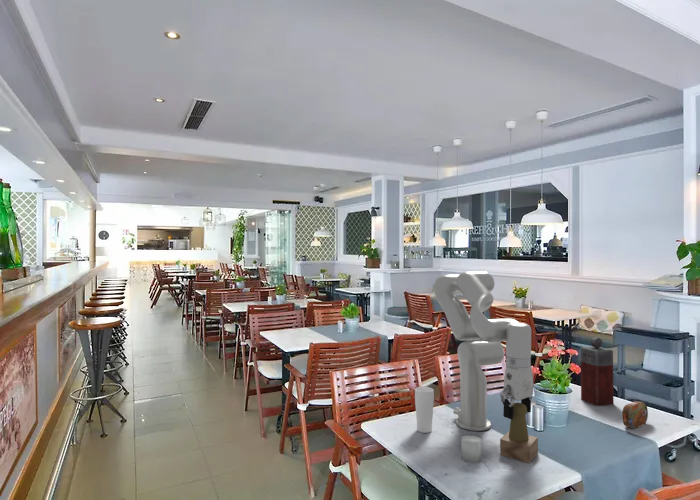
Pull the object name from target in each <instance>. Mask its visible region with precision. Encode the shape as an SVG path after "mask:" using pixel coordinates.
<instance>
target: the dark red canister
mask: <svg viewBox="0 0 700 500" xmlns="http://www.w3.org/2000/svg"><path fill="white" fill-rule="evenodd" d="M602 345H603V340H602V339H601V338H600V337H596V336H595V337H592V338H591V340H590V346H582V347H580V398H581V399H580V400H581V401H584V402H586V403H588V404H591V405H593V406H596V407H601V406H610V405H614V403H615V401H614V400H615V399H614V351H613V350H612V349H611V348H610V349H609V348H606V347H602Z"/></svg>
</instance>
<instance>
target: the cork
mask: <svg viewBox="0 0 700 500" xmlns="http://www.w3.org/2000/svg"><path fill="white" fill-rule="evenodd" d="M512 406H513V407H514V411H513V419H512V420H511V419H510V423H509V424H510V425H509V430H508V431H509V439H511V440H513V441H516V442H527V441H528V440H529V438H528V435H529V433H528V425H527V419H526V415H527V413H528V412H527V407H526V406H525V405H524V404H522V403H521V402H514V403H513V405H512Z"/></svg>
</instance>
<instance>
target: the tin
mask: <svg viewBox="0 0 700 500" xmlns="http://www.w3.org/2000/svg"><path fill="white" fill-rule="evenodd" d="M621 414H622V417H621V418H622V423H623V425H624V427H626V428H630V429H633V430H635V429H638V428H640V427H642V426H644V425H646V423H647V420H648V417H649V411H648V405H647V404H646V403H645V402H644V401H639V400H638V401H637V400H636V401H635V400H634V401H632V402H629V403H627V404H625V405H624V406H623V408H622V411H621Z"/></svg>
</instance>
